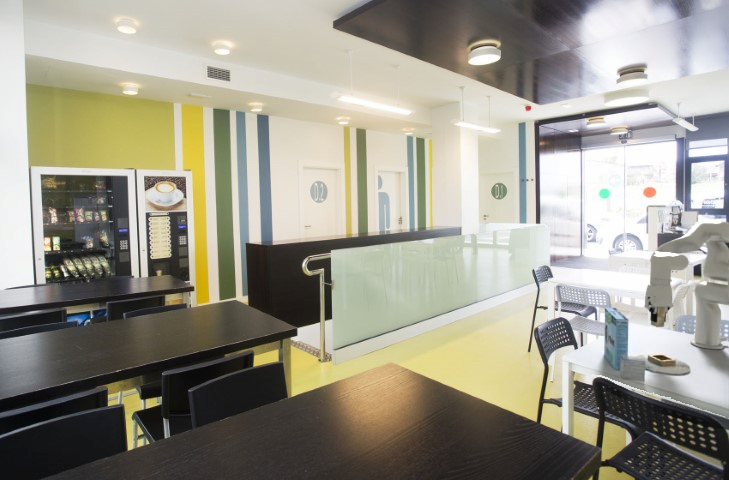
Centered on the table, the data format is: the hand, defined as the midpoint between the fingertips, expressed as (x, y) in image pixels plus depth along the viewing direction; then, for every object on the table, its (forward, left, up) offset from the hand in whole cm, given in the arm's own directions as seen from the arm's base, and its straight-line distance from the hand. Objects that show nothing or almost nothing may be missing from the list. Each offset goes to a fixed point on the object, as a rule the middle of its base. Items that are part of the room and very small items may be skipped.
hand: (657, 321), depth 189 cm
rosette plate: (+4, +7, -18) cm, 20 cm away
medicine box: (+26, +16, -18) cm, 36 cm away
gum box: (+21, 0, -18) cm, 28 cm away
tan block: (0, 0, -2) cm, 2 cm away
